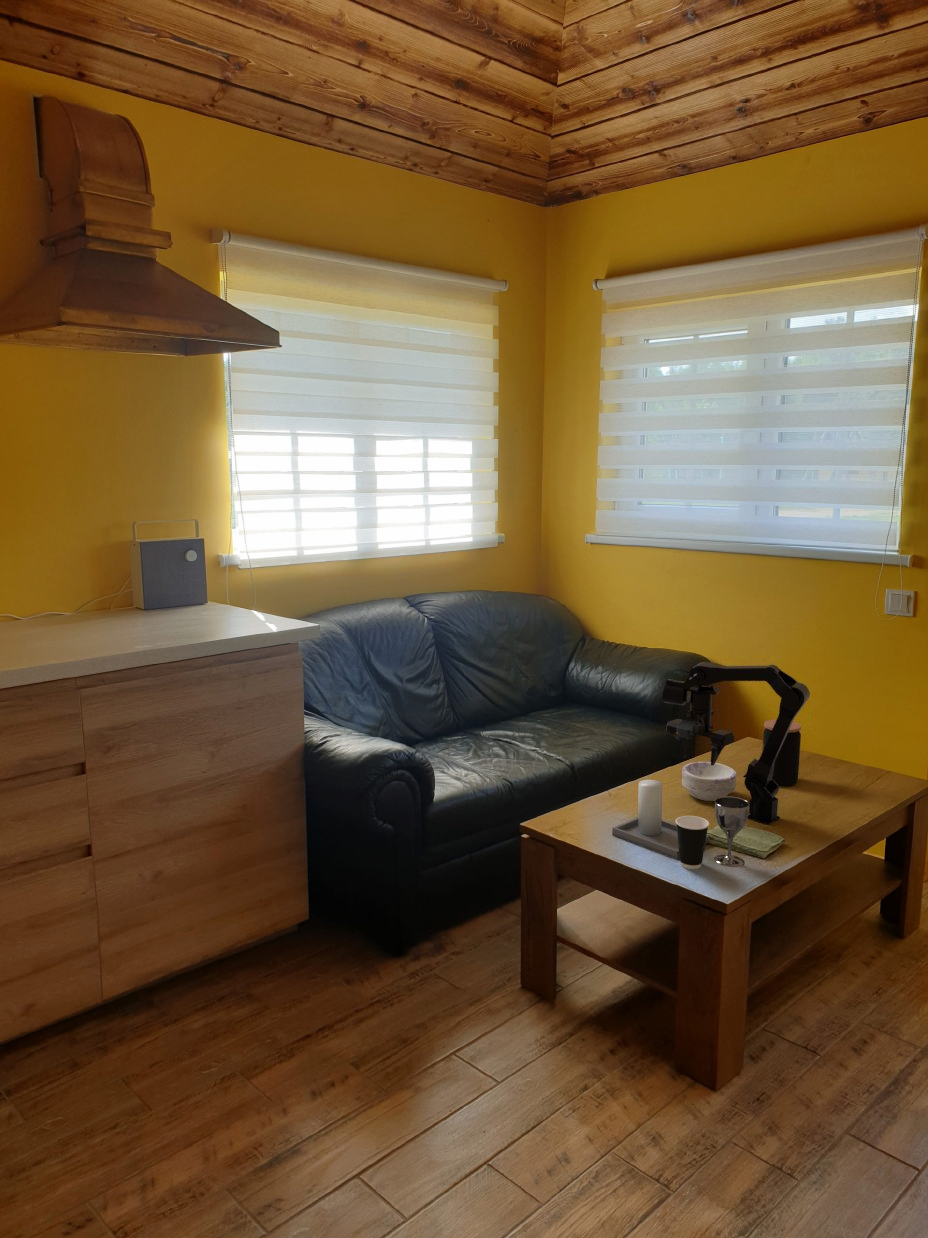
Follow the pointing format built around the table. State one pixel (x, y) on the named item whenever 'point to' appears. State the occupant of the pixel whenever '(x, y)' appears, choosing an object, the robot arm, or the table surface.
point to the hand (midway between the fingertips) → (698, 761)
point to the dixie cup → (691, 840)
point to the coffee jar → (785, 755)
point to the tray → (651, 837)
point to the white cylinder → (650, 807)
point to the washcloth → (747, 841)
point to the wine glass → (731, 825)
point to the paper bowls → (708, 780)
